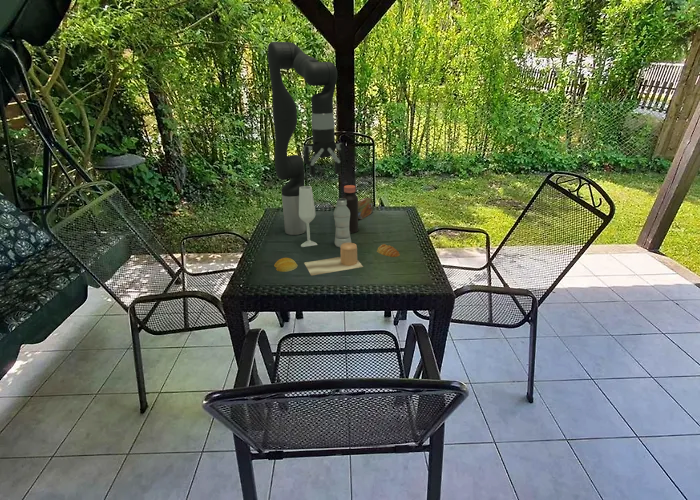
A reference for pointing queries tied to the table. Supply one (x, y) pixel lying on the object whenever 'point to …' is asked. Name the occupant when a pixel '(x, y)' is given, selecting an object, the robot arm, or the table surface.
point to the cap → (348, 254)
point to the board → (328, 266)
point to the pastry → (388, 251)
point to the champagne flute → (306, 210)
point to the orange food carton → (365, 207)
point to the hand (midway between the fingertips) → (325, 174)
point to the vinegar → (352, 207)
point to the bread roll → (285, 265)
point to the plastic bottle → (342, 223)
